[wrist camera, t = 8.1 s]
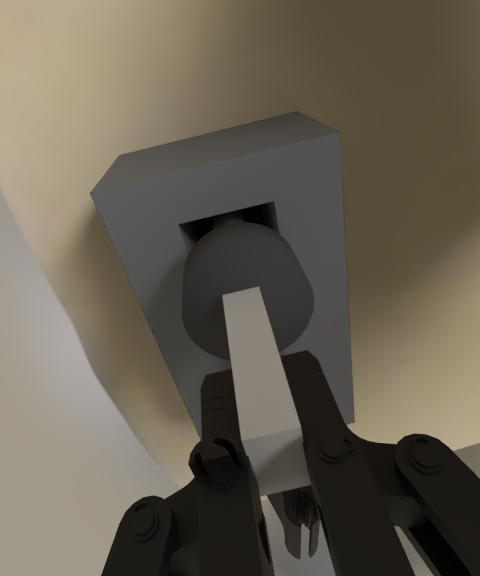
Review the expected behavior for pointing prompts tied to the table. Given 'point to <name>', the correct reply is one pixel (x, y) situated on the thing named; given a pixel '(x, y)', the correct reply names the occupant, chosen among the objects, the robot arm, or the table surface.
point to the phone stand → (297, 517)
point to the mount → (225, 198)
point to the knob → (243, 282)
